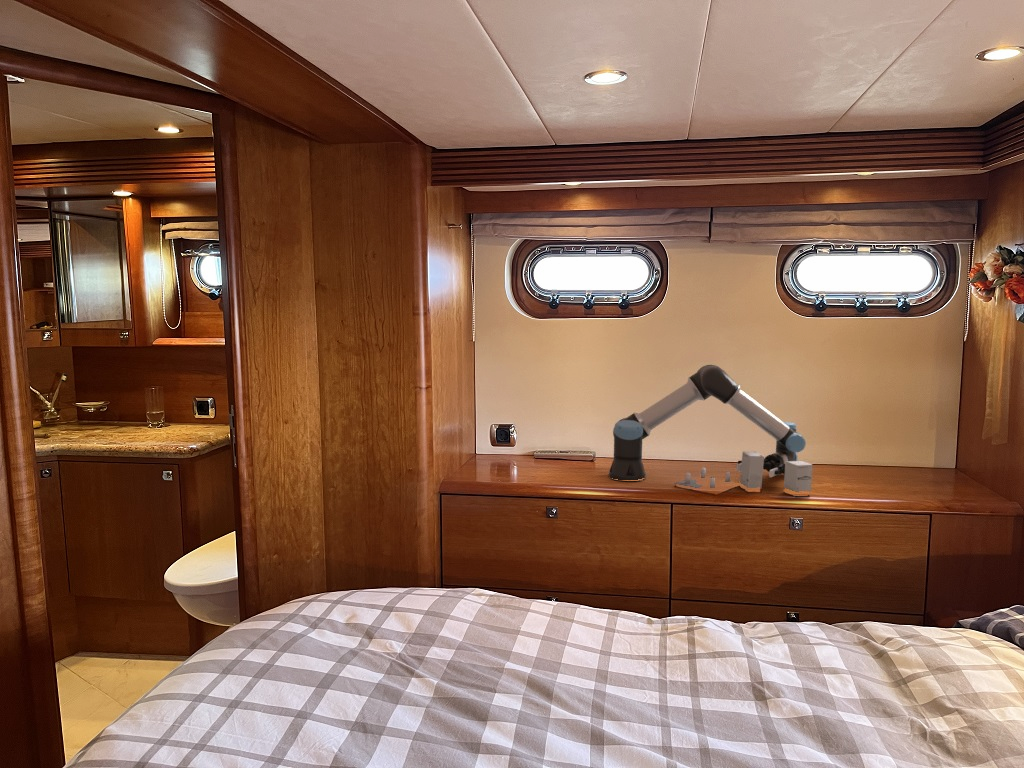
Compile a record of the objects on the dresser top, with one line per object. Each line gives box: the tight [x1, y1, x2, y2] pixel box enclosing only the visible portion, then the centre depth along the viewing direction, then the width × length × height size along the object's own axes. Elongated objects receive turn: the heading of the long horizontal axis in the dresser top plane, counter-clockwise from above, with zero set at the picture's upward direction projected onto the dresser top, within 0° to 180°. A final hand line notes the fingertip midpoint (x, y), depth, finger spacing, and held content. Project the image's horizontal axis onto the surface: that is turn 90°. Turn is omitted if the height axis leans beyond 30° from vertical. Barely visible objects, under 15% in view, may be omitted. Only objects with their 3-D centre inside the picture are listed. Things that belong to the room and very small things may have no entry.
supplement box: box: [783, 460, 814, 492], centre depth 287 cm, size 7×7×13 cm
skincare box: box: [739, 450, 765, 488], centre depth 293 cm, size 8×6×15 cm
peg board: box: [674, 467, 731, 488], centre depth 298 cm, size 18×20×6 cm
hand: (753, 470), depth 293 cm, fingers open, 13 cm apart
